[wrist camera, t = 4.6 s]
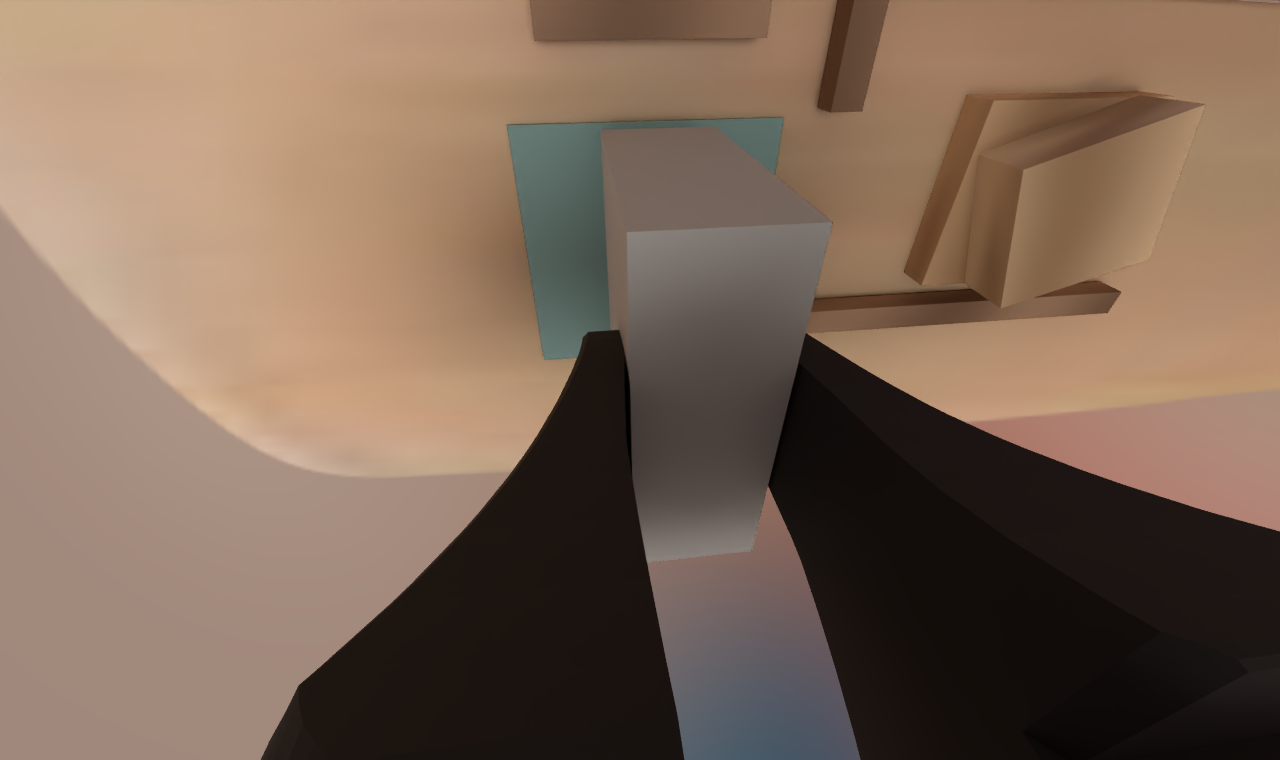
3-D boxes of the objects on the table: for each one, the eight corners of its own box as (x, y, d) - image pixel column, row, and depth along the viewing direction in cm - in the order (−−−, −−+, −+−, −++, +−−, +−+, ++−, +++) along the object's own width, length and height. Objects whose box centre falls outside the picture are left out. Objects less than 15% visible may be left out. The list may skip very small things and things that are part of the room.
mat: (782, 116, 12) (783, 117, 12) (747, 344, 17) (748, 345, 16) (507, 124, 12) (506, 125, 12) (544, 358, 16) (543, 359, 16)
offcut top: (1139, 95, 12) (1205, 104, 11) (1098, 238, 14) (1148, 259, 13) (977, 154, 13) (1023, 169, 11) (964, 283, 15) (1000, 308, 14)
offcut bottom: (1117, 88, 13) (1174, 96, 12) (1029, 256, 16) (1067, 276, 15) (952, 92, 13) (993, 100, 12) (893, 264, 16) (921, 285, 15)
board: (714, 126, 10) (832, 221, 6) (693, 378, 15) (751, 550, 10) (600, 129, 10) (627, 231, 6) (613, 384, 15) (634, 563, 10)
